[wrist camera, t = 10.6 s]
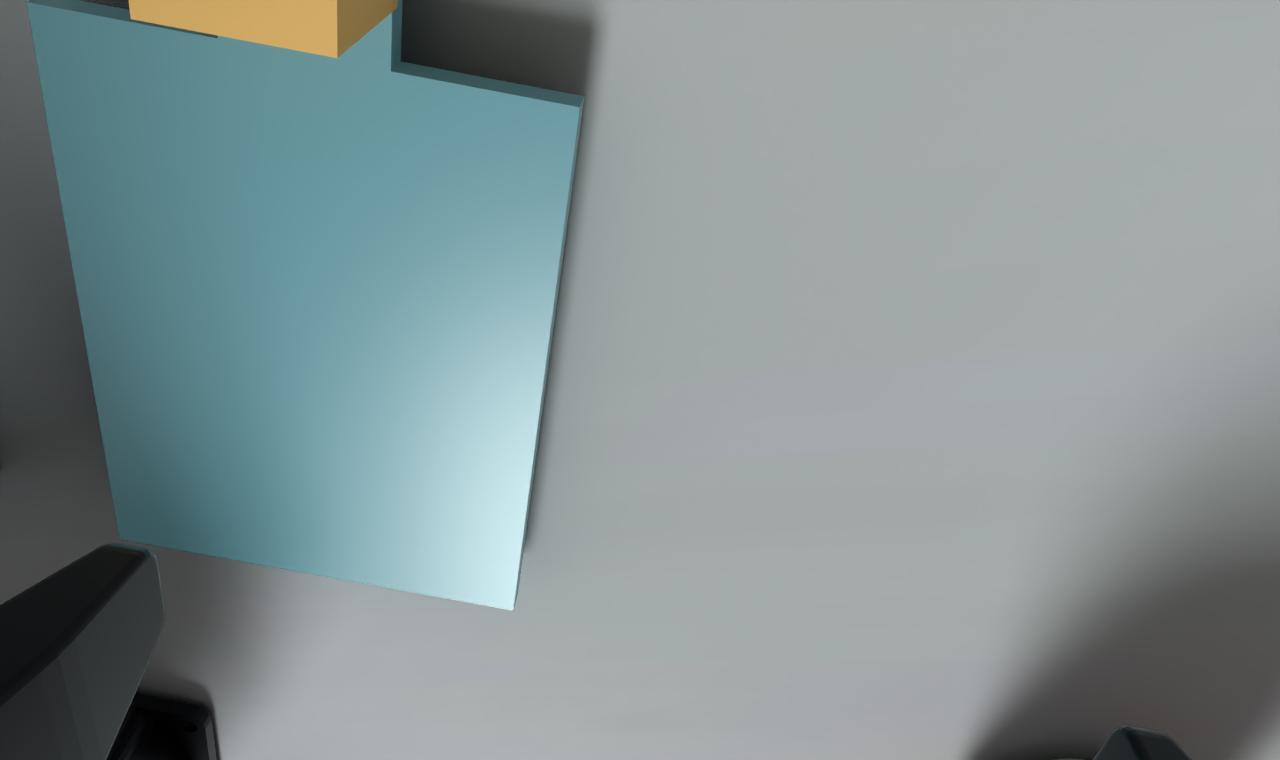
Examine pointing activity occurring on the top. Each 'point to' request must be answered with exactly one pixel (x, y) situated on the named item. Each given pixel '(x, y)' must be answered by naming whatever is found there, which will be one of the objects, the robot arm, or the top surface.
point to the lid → (310, 284)
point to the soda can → (1068, 759)
